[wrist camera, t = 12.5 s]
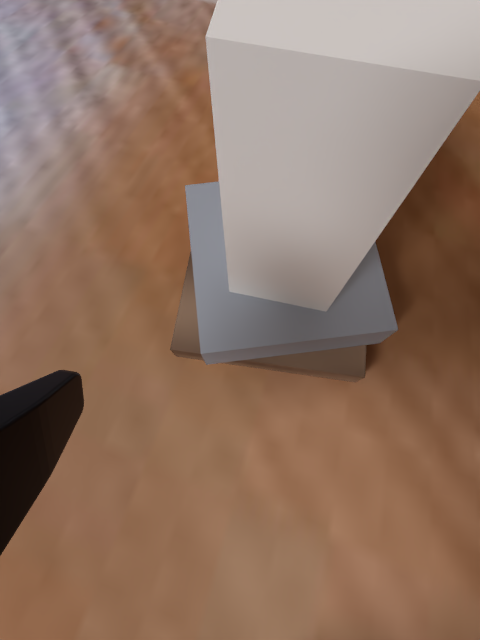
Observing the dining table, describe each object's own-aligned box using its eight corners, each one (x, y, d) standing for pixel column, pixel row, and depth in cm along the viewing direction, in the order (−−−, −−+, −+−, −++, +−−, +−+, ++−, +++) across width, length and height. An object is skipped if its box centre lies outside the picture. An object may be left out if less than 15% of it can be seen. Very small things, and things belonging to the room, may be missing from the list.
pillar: (326, 311, 18) (486, 82, 6) (229, 291, 18) (205, 36, 6) (340, 225, 19) (494, -101, 7) (249, 207, 19) (260, -132, 8)
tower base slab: (351, 384, 22) (364, 377, 19) (178, 359, 22) (170, 349, 20) (361, 229, 24) (373, 206, 22) (208, 211, 25) (203, 187, 23)
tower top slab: (379, 343, 20) (398, 329, 17) (206, 364, 19) (200, 354, 17) (344, 195, 22) (355, 166, 20) (191, 212, 22) (185, 185, 20)
